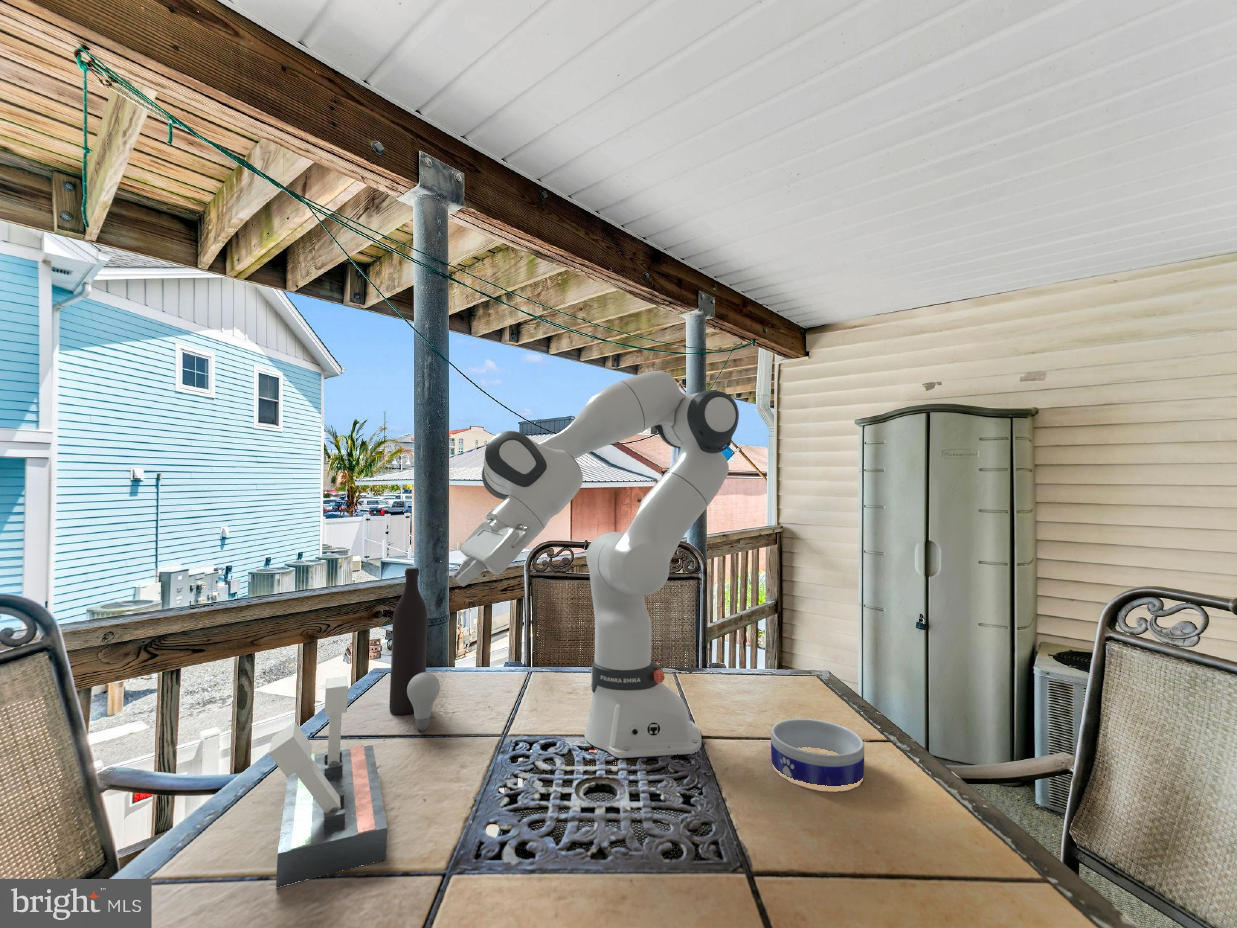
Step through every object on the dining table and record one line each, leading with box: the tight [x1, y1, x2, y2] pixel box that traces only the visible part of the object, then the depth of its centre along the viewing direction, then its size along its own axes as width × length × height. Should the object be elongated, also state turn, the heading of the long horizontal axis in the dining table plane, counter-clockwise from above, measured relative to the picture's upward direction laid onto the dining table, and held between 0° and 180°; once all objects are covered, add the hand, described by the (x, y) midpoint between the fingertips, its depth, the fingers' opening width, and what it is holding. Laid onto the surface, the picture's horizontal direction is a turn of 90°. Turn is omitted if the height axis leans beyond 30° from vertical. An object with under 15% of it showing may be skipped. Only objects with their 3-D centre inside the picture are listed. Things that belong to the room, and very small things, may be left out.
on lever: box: [268, 721, 340, 813], centre depth 74 cm, size 3×5×13 cm
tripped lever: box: [324, 675, 349, 765], centre depth 87 cm, size 3×5×13 cm, turn 27°
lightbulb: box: [407, 671, 441, 731], centre depth 111 cm, size 6×6×11 cm
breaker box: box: [275, 744, 388, 888], centre depth 81 cm, size 12×26×5 cm, turn 27°
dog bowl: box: [770, 718, 865, 786], centre depth 98 cm, size 15×15×6 cm
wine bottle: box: [388, 566, 429, 716], centre depth 122 cm, size 7×7×30 cm
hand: (456, 582), depth 97 cm, fingers closed
